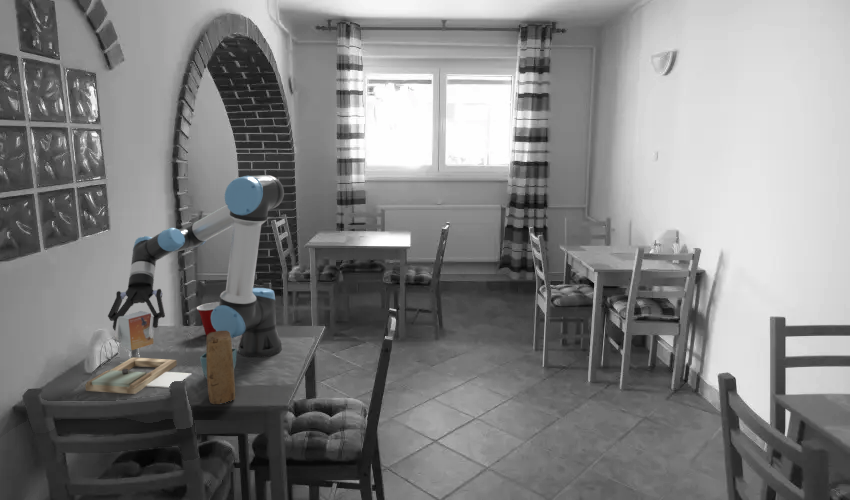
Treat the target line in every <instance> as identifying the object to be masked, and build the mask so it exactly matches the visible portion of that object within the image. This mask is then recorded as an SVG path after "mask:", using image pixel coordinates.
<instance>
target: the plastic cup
mask: <svg viewBox="0 0 850 500" xmlns="http://www.w3.org/2000/svg"><path fill="white" fill-rule="evenodd" d="M217 306H219V301H216V302H214V301H213V302H208V303H204V304H201V305H198V306H196V310H197V311H198V312H199V315H200V319H201V323H202V327H203V329H204V334H205V336H206V337H207V335H208V334H209V333H211V332H216V329H214V328H213V326H212V323H211V313H212V311H213V310H214V309H215V308H216V307H217Z"/></svg>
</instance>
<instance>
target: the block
mask: <svg viewBox="0 0 850 500" xmlns="http://www.w3.org/2000/svg"><path fill="white" fill-rule="evenodd" d="M205 343H206V344H205V345H206V350H205V353H206V357H207V378H206V381H207V393H208V400H209V403H210V404H212V405H221V404H220V403H225V402H228V401H230V402H232V401H231V400H233V401H234V400H235V399H236V384H235V368H234V366H233V354H232V349H233V346H232V338H231V335H230V332H228V331H216V332H211V333H209V334H208V335H207V336H206V342H205ZM228 403H229V402H228ZM225 404H226V403H225Z"/></svg>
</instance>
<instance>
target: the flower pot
mask: <svg viewBox="0 0 850 500" xmlns="http://www.w3.org/2000/svg"><path fill="white" fill-rule="evenodd" d="M237 352H238V349H237V348H232V354H233V366H234V369H235V367H236V364H237V354H238V353H237ZM199 360H200V364H201V370H202V373H203V374H204V377H205V378H206V379H207V357H206V352H204V353H203V354H202V355H200V357H199Z"/></svg>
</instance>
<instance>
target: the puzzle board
mask: <svg viewBox="0 0 850 500" xmlns="http://www.w3.org/2000/svg"><path fill="white" fill-rule="evenodd" d="M177 366H178V361H177V359H167V358H166V359H165V358H162V359H161V358H152V357H151V358H150V357H149V358H148V357H131V358H129V359H128V360H127V359H126V361H124V362H121V364H119V365H117V366H115V367H113V368H112V369H110V370H109V369H108V370H106V371H104V372H102V373H101V374H98V375H96V376H95V377H94V378H92V379H89V380H88V381H87V382H86V384H85V392H96V393H97V392H101V393H114V394H129V395H132V394H133V395H136V394H138V393H139V392H140V391H142V390H143V389H145V388H146V385H147V384H149V383H150V382H152V381H153V380H155V379H156V378H158V377H159V376H160V375H162V374H163V373H165V372H171V370H173V369H174V368H175V367H177ZM134 367H141V368H143V367H144V368H146V367H147V368H155V369H153V370H151V371H149V372H145V371H130V370H132V369H133V368H134Z"/></svg>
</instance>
